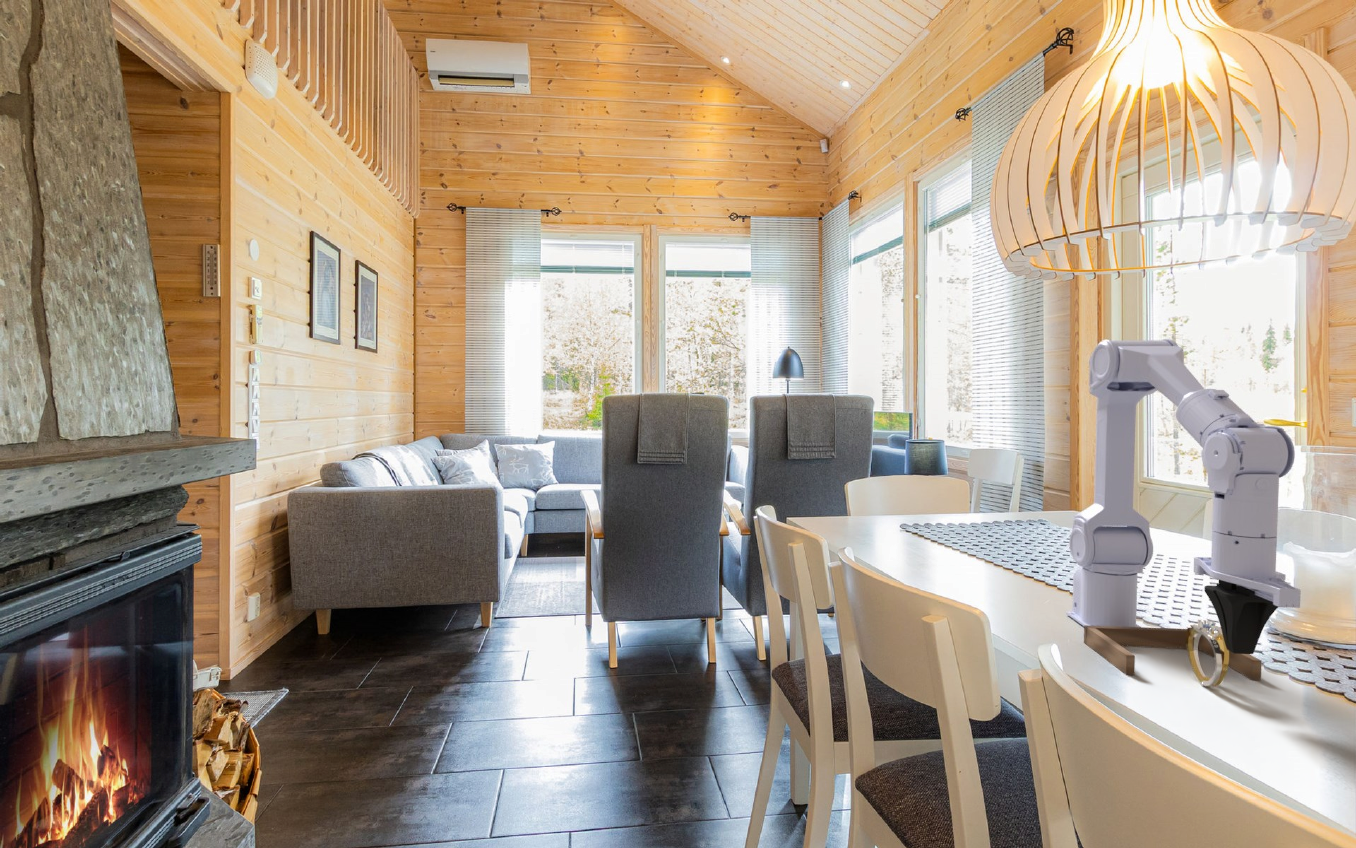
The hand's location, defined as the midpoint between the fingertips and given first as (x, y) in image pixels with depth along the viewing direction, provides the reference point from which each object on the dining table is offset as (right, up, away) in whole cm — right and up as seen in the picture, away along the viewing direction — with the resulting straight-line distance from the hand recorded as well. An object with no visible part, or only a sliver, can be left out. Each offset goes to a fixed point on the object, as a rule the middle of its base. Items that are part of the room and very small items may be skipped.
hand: (1239, 651), depth 80 cm
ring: (+1, -6, +6) cm, 9 cm away
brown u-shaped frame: (+2, -6, +15) cm, 16 cm away
